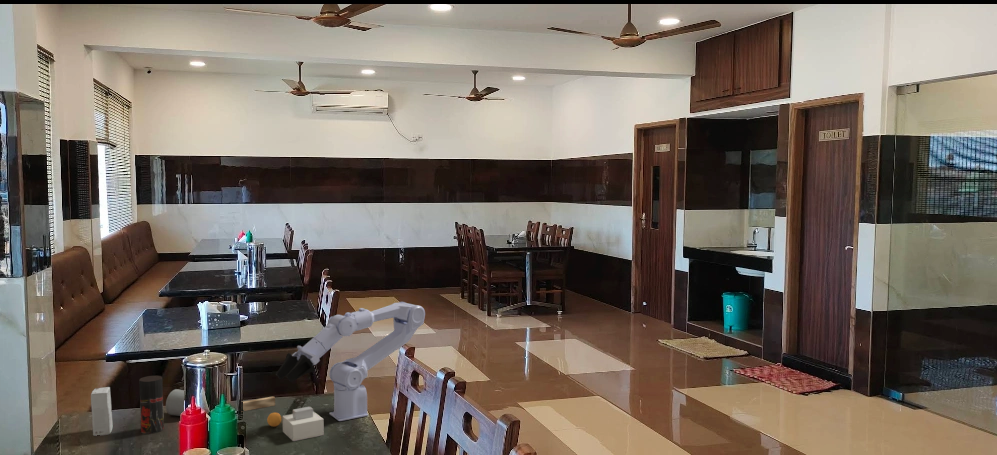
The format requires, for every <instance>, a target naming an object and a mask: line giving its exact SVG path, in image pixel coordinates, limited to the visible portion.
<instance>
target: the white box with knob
mask: <svg viewBox="0 0 997 455" xmlns="http://www.w3.org/2000/svg"><path fill="white" fill-rule="evenodd" d="M324 420H325V419H324V418H323V417H321V416H320V415H319V414H318V413H316V412H315V411H314V408H312V407H311V406H305V407H300V408H295V409H292V413H291V414H284V415H282V433H283V434H284V435H286V436H287V438H289V439H290V440H291V441H292V442H296V441H301V440H306V439H311V438H316V437H319V436H324V435H325V432H324V431H325V429H324V427H325V426H324Z"/></svg>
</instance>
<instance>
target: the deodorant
mask: <svg viewBox="0 0 997 455" xmlns="http://www.w3.org/2000/svg"><path fill="white" fill-rule="evenodd" d="M138 381H139V386H138V387H139V409H140V410H139V412H140V413H139V414H140V415H139V416H140V433H142V434H148V435H149V434H155V433H160V432H162V431H164V429H165V428H164V420H165V419H164V395H163V394H164V393H163V391H164V390H163V376H161V375H148V376H144V377H141V378H139V379H138Z"/></svg>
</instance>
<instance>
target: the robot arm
mask: <svg viewBox="0 0 997 455" xmlns="http://www.w3.org/2000/svg"><path fill="white" fill-rule="evenodd" d="M425 317H426V311H425V308H424V307H423V306H421V305H417V304H412V303H407V302H405V301H399V302H393V303H391V304H389V305H387V306H383V307H381V308H378V309H374V310H372V311H370V310H369V309H367V308H366V309H365V308H364V307H359V308H358V310H357V311H352V312H345V314H343V315H342V314H336V315H335V314H334V315H332V316H330V317H329V318H328V321H327V324H326V325H325V326H324V327H323V328H322V329H321V330H320V331H319V332H318V333H317V334H316V335H315V336H314V337H312V338H311V339H310V340H309V341H308V342H307V343H305V344H304V345H303V346H301V345H297V346H296V348H297V351H295V352H294V353H290V352H288V353H287V354H286V356H285V358H284V361H283V363H282V364H281V365H280V367H279V368H278V370H277V371H276V372H275V376H276V377H277V378H278V379H279V380H282V379H284V378H287V379H288V382H290V383H292V382H294V381H296V380H298V379H299V378H302V376H304V375H306V374H309V373H312V372H313V373H314V372H315V371H316V369H315V367H314V366H315V365H317V364H318V363H319V362H320V361H321V360H320V358H322V357H323V356H324V355H325V354H326V353H327V352H328V351H329V350H331V349H332V347H333V346H335V345H336V344H337V343H338V342H339V341H340V340H341V339H342V338H343V337H350V336H352V335H353V333H355V332H357V331H361V330H364V329H367V328H371V327H372V326H373V324H374V322H379V321H384V320H389V319H393V322H392V323H393V331H392V332H390V333H389V334H387V335H386V336H384V337H383V338H381V339H380V340H379V341H377V342H376V343H374V344H372V346H370V347H368V348H367V349H366V350H364V351H363V352H361V353H360V354H358V355H357V356H355V357H352V358H351V357H350V358H346V359H345V360H343V361H339V362H336V363H334V364H333V365H332V366H331V368H330V370H329V379H330V380H331V381H332V383H333V398H334V399H333V406H334V407H333V410H334V411H331V412H329V416H331V417H333V419H335V420H337V421H338V422H343V421H348V420H352V419H358V418H363V417H368V416H369V414H368V393H367V388H366V387H365V385H364V384H362V383H363V381H364V380H365V379H366V378H368V371H369V370H370V369H372V368H374V367H375V366H376V365H378V364H379V363H380V362H382V361H383V360H385V359H386V358H388V357H389V356H390V355H392V354H393V353H394V352H395V351H397V350H399V349H400V348H401V347H403V346H404V345H406V344H407V343H408V342H409V341H411V339H412V338H413V336H414V335H415V333H416V331H417V330H418V329H419V328H420V327H421V326H423V325H424V323H425Z"/></svg>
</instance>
